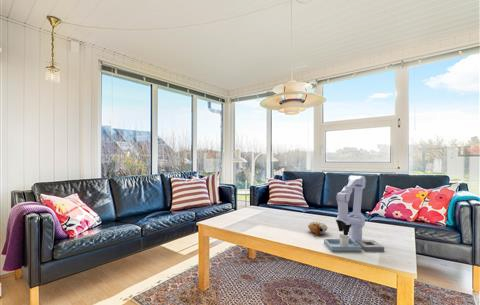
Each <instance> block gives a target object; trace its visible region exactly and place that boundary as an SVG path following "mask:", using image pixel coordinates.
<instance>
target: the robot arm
mask: <svg viewBox="0 0 480 305" xmlns="http://www.w3.org/2000/svg"><path fill="white" fill-rule="evenodd" d="M347 180H348V183H347V185H345V186H343V188H342V190H341V191H340V192H337V193H336V196H335V199H336V203H337V212H338V213H337V215H336V216H337V217H335V218H336V219H335V222H336V224H337V228H338V231H339V232H342V234H344V235H348V236H349V239H352V240H353V241H355V240H365V239H364V238H363V228H364V227H365V225H366V220H365V219H366V218H365V217H366V216H365V215H364V214H363V213H362V212H361V211H362V210H361V209H362V200H363V189H365V188H366V182H367V180H366V176H364V175H352V174H350V175H349V176H348V178H347ZM353 190H354V193H353ZM352 193H353V194H354V195H353V204H352V205H353V207H352V212H349V201H350V199H351V194H352Z"/></svg>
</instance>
